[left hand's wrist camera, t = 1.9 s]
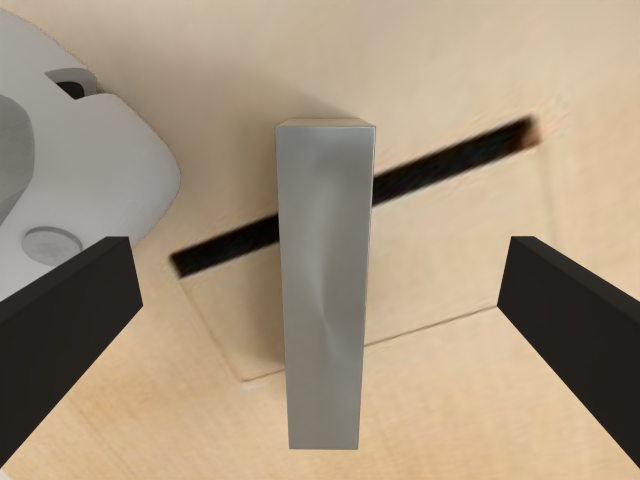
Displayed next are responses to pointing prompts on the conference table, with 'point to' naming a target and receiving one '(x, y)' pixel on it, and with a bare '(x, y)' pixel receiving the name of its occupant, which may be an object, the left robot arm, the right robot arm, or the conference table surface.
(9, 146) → the projector
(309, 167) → the bar
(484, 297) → the conference table surface
